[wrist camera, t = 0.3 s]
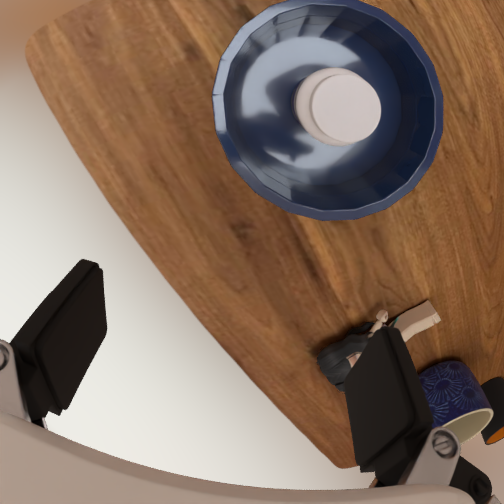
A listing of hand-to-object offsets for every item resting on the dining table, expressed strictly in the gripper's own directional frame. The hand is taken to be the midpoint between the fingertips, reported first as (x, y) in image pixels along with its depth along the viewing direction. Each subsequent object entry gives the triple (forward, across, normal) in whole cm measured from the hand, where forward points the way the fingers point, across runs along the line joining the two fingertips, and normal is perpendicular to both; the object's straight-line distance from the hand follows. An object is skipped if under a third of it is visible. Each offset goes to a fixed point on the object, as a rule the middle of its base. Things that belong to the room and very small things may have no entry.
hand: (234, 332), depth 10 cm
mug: (+19, -53, +24) cm, 61 cm away
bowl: (+19, -4, -8) cm, 21 cm away
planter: (+19, -34, +22) cm, 45 cm away
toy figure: (+19, -18, +14) cm, 30 cm away
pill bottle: (+19, -4, -8) cm, 21 cm away
